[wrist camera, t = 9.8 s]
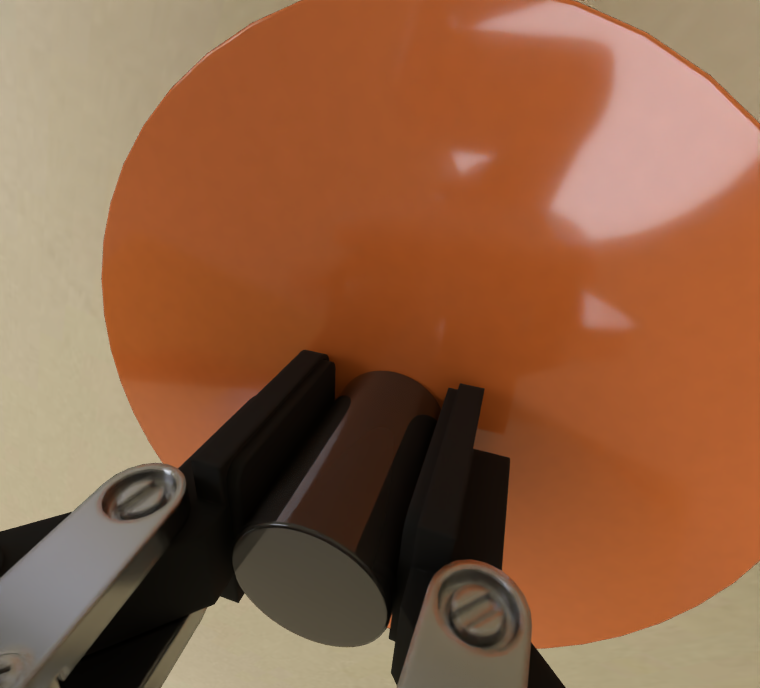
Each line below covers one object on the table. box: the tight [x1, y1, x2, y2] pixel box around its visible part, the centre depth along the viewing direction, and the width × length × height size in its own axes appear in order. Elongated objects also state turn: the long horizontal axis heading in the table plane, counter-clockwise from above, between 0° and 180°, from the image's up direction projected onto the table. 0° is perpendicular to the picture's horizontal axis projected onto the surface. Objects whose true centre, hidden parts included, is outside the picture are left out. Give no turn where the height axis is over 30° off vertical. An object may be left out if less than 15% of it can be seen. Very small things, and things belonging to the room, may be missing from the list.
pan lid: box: [101, 0, 760, 649], centre depth 9 cm, size 16×16×6 cm
